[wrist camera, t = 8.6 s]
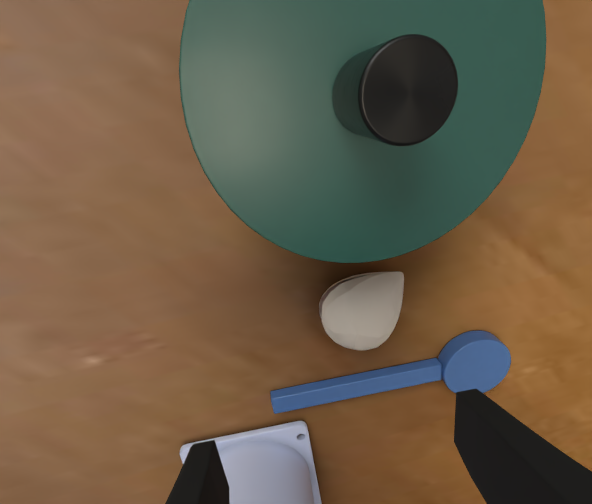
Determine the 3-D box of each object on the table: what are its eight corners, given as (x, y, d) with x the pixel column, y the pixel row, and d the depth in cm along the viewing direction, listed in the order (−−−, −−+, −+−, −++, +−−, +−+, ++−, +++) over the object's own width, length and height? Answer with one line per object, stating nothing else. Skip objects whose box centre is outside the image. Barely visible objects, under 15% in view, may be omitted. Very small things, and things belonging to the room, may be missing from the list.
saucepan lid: (507, 223, 14) (598, 267, 10) (229, 274, 13) (220, 340, 10) (538, -153, 10) (712, -304, 6) (136, -99, 9) (61, -230, 5)
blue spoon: (498, 377, 24) (508, 388, 23) (277, 422, 23) (278, 436, 22) (503, 324, 22) (514, 333, 21) (265, 371, 22) (266, 383, 21)
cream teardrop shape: (301, 302, 20) (307, 328, 18) (368, 237, 19) (384, 256, 17) (353, 343, 21) (365, 373, 19) (418, 285, 20) (439, 309, 18)
